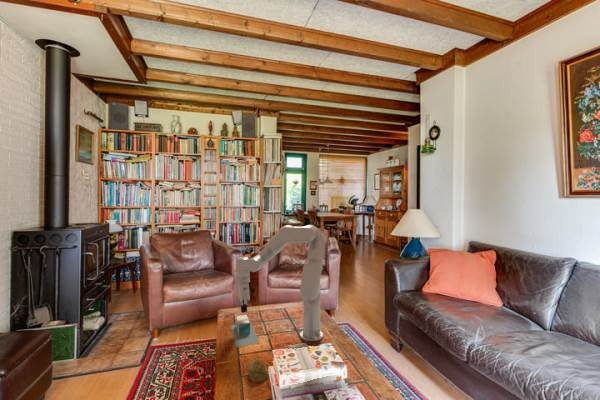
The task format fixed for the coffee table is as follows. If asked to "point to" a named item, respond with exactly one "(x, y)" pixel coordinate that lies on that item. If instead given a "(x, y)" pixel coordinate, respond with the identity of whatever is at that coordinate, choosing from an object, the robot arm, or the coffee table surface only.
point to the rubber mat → (244, 337)
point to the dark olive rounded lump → (257, 371)
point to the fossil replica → (298, 345)
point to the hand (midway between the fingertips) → (244, 311)
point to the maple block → (243, 324)
